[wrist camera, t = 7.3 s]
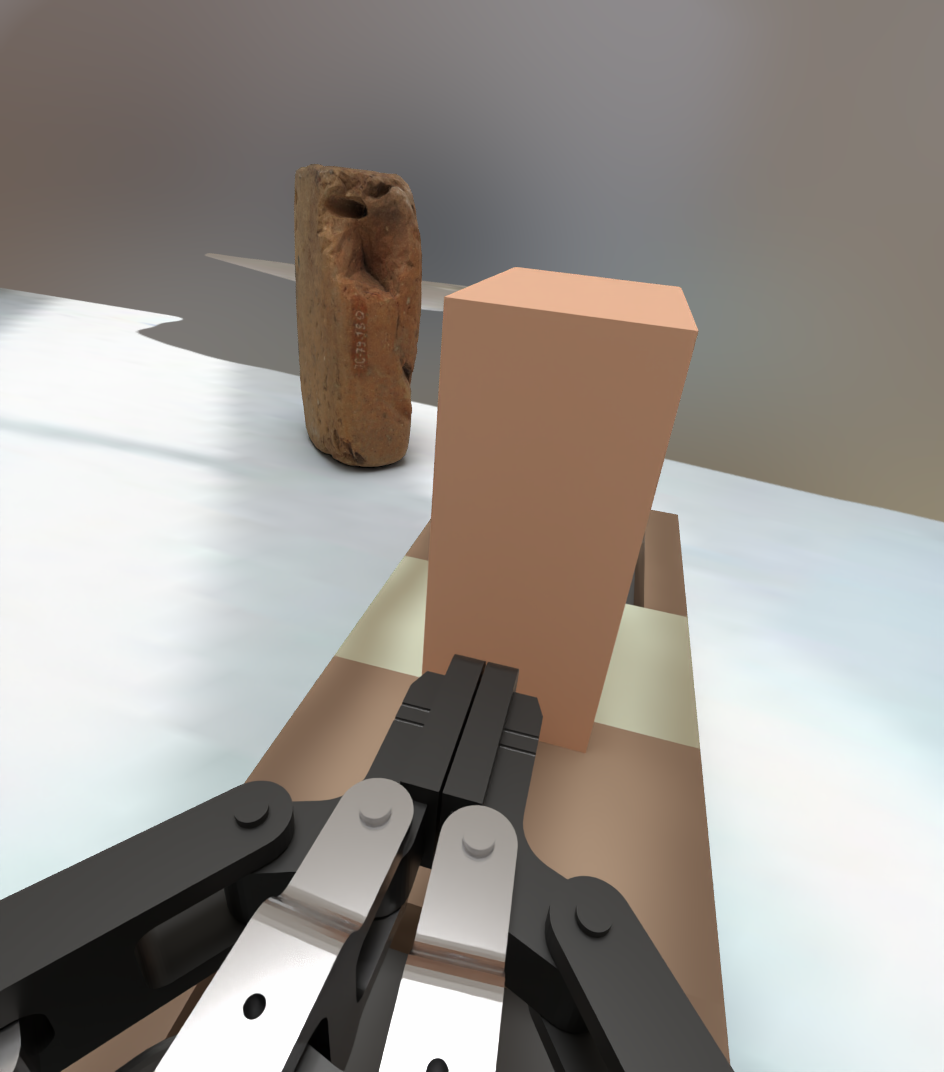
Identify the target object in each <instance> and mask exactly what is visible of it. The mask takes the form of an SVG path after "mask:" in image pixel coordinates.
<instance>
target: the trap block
mask: <svg viewBox="0 0 944 1072" xmlns="http://www.w3.org/2000/svg"><path fill="white" fill-rule="evenodd" d="M697 335H698V329H697V326H696V324H695V321H694V319H693V316H692V314H691V311H690V309H689V307H688V304H687V301H686V299H685V296H684V294H683V291H682V289H681V287H675V286H666V285H658V284H649V283H642V282H634V281H626V280H618V279H609V278H601V277H593V276H585V275H576V274H568V273H560V272H552V271H544V270H536V269H527V268H519V267H514V268H512V269H510V270H507V271H505V272H502V273H500V274H498V275H495V276H493V277H490V278H489V279H486V280H483V281H481V282H479V283H476V284H474V285H472V286H469V287H467V288H464V289H462V290H460V291H457V292H455V293H452V294H450V295H448V296H445V297H444V311H443V328H442V344H441V346H442V347H441V362H440V378H439V395H438V411H437V428H436V445H435V461H434V478H433V495H432V512H431V528H430V545H429V562H428V579H427V595H426V612H425V629H424V645H423V662H422V675H423V674H424V673H425V672H427V671H430V672H434V673H438V674H442V675H445V674H446V672H447V670H448V667H449V665H450V663H451V660H452V658H453V656H454V655H455V654H458V655H462V656H466V657H471V658H475V659H479V660H483V661H486V665H487V663H488V662H492V663H497V664H501V665H505V666H509V667H514V668H518V669H519V675H518V681H517V687H516V693H521V694H525V695H529V696H533V697H537V699H538V702H539V705H540V709H541V712H542V715H543V720H542V725H541V730H540V735H539V741H541V742H545V743H548V744H552V745H556V746H560V747H563V748H567V749H571V750H575V751H578V752H582V753H586V750H587V746H588V742H589V738H590V735H591V731H592V727H593V724H594V720H595V716H596V712H597V709H598V705H599V701H600V697H601V694H602V690H603V686H604V682H605V679H606V675H607V671H608V667H609V664H610V660H611V656H612V652H613V649H614V645H615V641H616V637H617V634H618V630H619V626H620V623H621V619H622V615H623V611H624V608H625V604H626V600H627V596H628V593H629V589H630V585H631V581H632V578H633V574H634V570H635V566H636V563H637V559H638V555H639V551H640V548H641V544H642V540H643V537H644V533H645V529H646V525H647V522H648V518H649V514H650V510H651V507H652V503H653V499H654V495H655V492H656V488H657V484H658V480H659V477H660V473H661V469H662V465H663V462H664V458H665V454H666V450H667V447H668V443H669V439H670V435H671V431H672V428H673V424H674V421H675V416H676V413H677V409H678V406H679V402H680V398H681V394H682V391H683V387H684V383H685V379H686V376H687V372H688V368H689V364H690V361H691V357H692V352H693V350H694V346H695V342H696V338H697Z"/></svg>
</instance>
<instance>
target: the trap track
mask: <svg viewBox="0 0 944 1072" xmlns="http://www.w3.org/2000/svg"><path fill="white" fill-rule="evenodd" d="M430 528H431V519H430V521H429V522H428V524H427V525H426V527H425V528H424V529H423V531H422V532H421V534H420V535H419V536H418V538H417V539H416V541H415V542H414V544H413V545H412V546H411V548H410V549H409V551H408V552H407V553H406V555H405V556H404V558H403V559H402V561H401V562H400V563H399V565H398V566H397V568H396V569H395V570H394V572H393V573H392V575H391V576H390V578H389V579H388V580H387V582H386V583H385V585H384V586H383V587H382V589H381V590H380V592H379V593H378V595H377V596H376V597H375V599H374V600H373V602H372V603H371V604H370V606H369V607H368V609H367V610H366V612H365V613H364V614H363V616H362V617H361V619H360V620H359V621H358V623H357V624H356V626H355V627H354V628H353V630H352V631H351V633H350V634H349V636H348V637H347V638H346V640H345V641H344V643H343V644H342V645H341V647H340V648H339V650H338V651H337V653H336V654H335V655H334V657H333V658H332V660H331V661H330V662H329V664H328V665H327V667H326V668H325V670H324V671H323V672H322V674H321V675H320V677H319V678H318V679H317V681H316V682H315V684H314V685H313V687H312V688H311V689H310V691H309V692H308V694H307V695H306V696H305V698H304V699H303V701H302V702H301V704H300V705H299V706H298V708H297V709H296V711H295V712H294V713H293V715H292V716H291V718H290V719H289V721H288V722H287V723H286V725H285V726H284V728H283V729H282V730H281V732H280V733H279V735H278V736H277V738H276V739H275V740H274V742H273V743H272V745H271V746H270V747H269V749H268V750H267V752H266V753H265V755H264V756H263V757H262V759H261V760H260V762H259V763H258V764H257V766H256V767H255V769H254V770H253V772H252V773H251V774H250V776H249V777H248V779H247V780H246V781H245V783H248V782H252V781H271V782H274V783H277V784H279V785H281V786H282V787H283V788H285V789H286V790H287V792H288V793H289V794H290V797H291V799H292V801H321V800H329V799H334V798H337V797H340V796H343V795H344V794H345V792H346V791H347V790H348V789H349V788H351V787H352V786H354V785H355V784H357V783H359V782H361V781H363V779H364V778H365V777H366V775H367V773H368V771H369V769H370V767H371V765H372V763H373V761H374V759H375V757H376V755H377V753H378V751H379V749H380V747H381V745H382V743H383V741H384V739H385V736H386V734H387V732H388V730H389V728H390V726H391V724H392V722H393V720H395V716H396V714H397V712H398V710H399V708H400V706H401V705H402V702H403V700H404V698H405V696H406V693H407V691H408V689H409V687H410V685H411V684H412V683H413V682H414V681H416V680H417V679H418V678H419V677H421V676H422V662H423V645H424V629H425V612H426V595H427V579H428V562H429V545H430ZM523 829H524V834H525V837H526V840H527V842H528V844H529V846H530V848H531V850H532V851H533V852H534V854H535V855H536V856H537V857H538V858H539V859H540V860H541V861H542V862H543V863H544V864H546V865H547V866H548V867H550V868H551V869H553V870H554V871H556V872H557V873H559V874H560V875H562V876H563V877H565V878H566V879H570V878H573V877H576V876H591V877H595V878H598V879H601V880H603V881H605V882H607V883H609V884H610V885H612V886H613V887H614V888H615V889H617V890H618V891H619V892H620V893H621V894H622V895H623V897H624V898H625V900H626V901H627V902H628V904H629V905H630V907H631V909H632V910H633V912H634V913H635V915H636V916H637V918H638V920H639V921H640V923H641V924H642V926H643V928H644V929H645V931H646V932H647V934H648V936H649V937H650V939H651V940H652V942H653V943H654V945H655V947H656V948H657V950H658V951H659V953H660V955H661V956H662V958H663V959H664V961H665V963H666V964H667V966H668V967H669V969H670V970H671V972H672V974H673V975H674V977H675V978H676V980H677V982H678V983H679V985H680V986H681V988H682V989H683V991H684V993H685V994H686V996H687V997H688V999H689V1001H690V1002H691V1004H692V1005H693V1007H694V1009H695V1010H696V1012H697V1013H698V1015H699V1016H700V1018H701V1020H702V1021H703V1023H704V1024H705V1026H706V1028H707V1029H708V1031H709V1032H710V1034H711V1036H712V1037H713V1039H714V1040H715V1042H716V1043H717V1045H718V1047H719V1048H720V1050H721V1051H722V1053H723V1055H724V1056H725V1058H726V1059H727V1061H728V1062H729V1064H730V1058H729V1048H728V1037H727V1027H726V1016H725V1006H724V995H723V985H722V974H721V964H720V953H719V943H718V932H717V922H716V911H715V901H714V890H713V880H712V869H711V859H710V848H709V838H708V827H707V817H706V806H705V796H704V785H703V775H702V764H701V754H700V743H699V733H698V722H697V712H696V701H695V691H694V680H693V670H692V659H691V649H690V638H689V628H688V617H687V607H686V596H685V586H684V575H683V565H682V554H681V544H680V533H679V523H678V515H676V514H670V513H665V512H660V511H655V510H650V514H649V518H648V522H647V525H646V529H645V533H644V537H643V540H642V544H641V548H640V551H639V555H638V559H637V563H636V566H635V570H634V574H633V578H632V581H631V585H630V589H629V593H628V596H627V600H626V604H625V608H624V611H623V615H622V619H621V623H620V626H619V630H618V634H617V637H616V641H615V645H614V649H613V652H612V656H611V660H610V664H609V667H608V671H607V675H606V679H605V682H604V686H603V690H602V694H601V697H600V701H599V705H598V709H597V712H596V716H595V720H594V724H593V727H592V731H591V735H590V738H589V742H588V746H587V750H586V753H582V752H578V751H575V750H571V749H567V748H563V747H560V746H556V745H552V744H548V743H545V742H541V741H538V746H537V751H536V756H535V761H534V766H533V771H532V776H531V782H530V787H529V792H528V797H527V802H526V807H525V812H524V819H523ZM431 870H432V869H429V868H425V867H422V866H419V869H418V872H417V875H416V878H415V881H414V883H413V886H412V889H411V892H410V894H409V898H408V903H407V906H406V909H405V912H404V914H403V916H402V919H401V921H400V924H399V926H398V928H397V931H396V933H395V936H394V938H393V940H392V943H391V945H390V947H389V950H388V952H387V955H386V957H385V959H384V962H383V964H382V967H381V969H380V971H379V974H378V976H377V978H376V981H375V983H374V986H373V988H372V990H371V993H370V995H369V998H368V1000H367V1002H366V1005H365V1007H364V1010H363V1013H362V1016H361V1019H360V1022H359V1026H358V1031H357V1035H356V1039H355V1042H354V1045H353V1049H352V1052H351V1055H350V1057H349V1060H348V1063H347V1066H346V1068H345V1071H344V1072H379V1071H380V1066H381V1062H382V1058H383V1054H384V1050H385V1046H386V1042H387V1038H388V1034H389V1029H390V1025H391V1021H392V1017H393V1013H394V1009H395V1005H396V1001H397V996H398V992H399V988H400V984H401V980H402V976H403V972H404V968H405V964H406V961H407V958H408V954H409V952H410V950H411V949H412V947H413V944H414V941H415V937H416V933H417V928H418V924H419V920H420V916H421V912H422V907H423V903H424V899H425V895H426V891H427V886H428V882H429V878H430V874H431ZM217 972H218V971H217ZM217 972H215V973H213V974H212V975H210V976H209V977H207V978H206V979H204V980H203V981H201V982H199V983H198V984H196V985H195V986H193V987H192V988H190V989H189V990H187V991H185V992H184V993H182V994H181V995H179V996H178V997H176V998H175V999H173V1000H171V1001H170V1002H168V1003H167V1004H165V1005H164V1006H162V1007H160V1008H159V1009H157V1010H156V1011H154V1012H153V1013H151V1014H150V1015H148V1016H146V1017H145V1018H143V1019H142V1020H140V1021H139V1022H137V1023H136V1024H134V1025H132V1026H131V1027H129V1028H128V1029H126V1030H125V1031H123V1032H122V1033H120V1034H118V1035H117V1036H115V1037H114V1038H112V1039H111V1040H109V1041H107V1042H106V1043H104V1044H103V1045H101V1046H100V1047H98V1048H97V1049H95V1050H93V1051H92V1052H90V1053H89V1054H87V1055H86V1056H84V1057H83V1058H81V1059H79V1060H78V1061H76V1062H75V1063H73V1064H72V1065H70V1066H69V1067H67V1068H65V1069H64V1070H62V1071H61V1072H115V1071H116V1070H117V1069H119V1068H120V1067H122V1066H123V1065H124V1064H126V1063H127V1062H129V1061H130V1060H131V1059H133V1058H134V1057H136V1056H137V1055H139V1054H140V1053H142V1052H143V1051H145V1050H146V1049H148V1048H150V1047H152V1046H153V1045H155V1044H157V1043H159V1042H161V1041H163V1040H165V1039H167V1038H169V1037H172V1036H174V1035H176V1034H178V1033H179V1031H180V1030H181V1028H182V1027H183V1025H184V1024H185V1022H186V1020H187V1019H188V1017H189V1016H190V1014H191V1013H192V1011H193V1009H194V1008H195V1006H196V1005H197V1003H198V1002H199V1000H200V998H201V997H202V995H203V994H204V992H205V990H206V989H207V987H208V986H209V984H210V983H211V981H212V979H213V978H214V976H215V975H216V973H217ZM495 1072H555V1071H554V1069H553V1067H552V1064H551V1062H550V1060H549V1057H548V1055H547V1053H546V1050H545V1048H544V1046H543V1044H542V1041H541V1039H540V1037H539V1034H538V1032H537V1030H536V1027H535V1025H534V1023H533V1020H532V1018H531V1015H530V1012H529V1009H528V1004H527V1003H525V1002H524V1001H523V1000H522V999H520V998H519V997H518V996H517V995H516V994H514V993H513V992H512V991H511V990H509V989H508V988H507V987H506V986H504V995H503V1005H502V1014H501V1023H500V1032H499V1041H498V1051H497V1060H496V1069H495Z"/></svg>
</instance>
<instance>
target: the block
mask: <svg viewBox="0 0 944 1072" xmlns="http://www.w3.org/2000/svg"><path fill="white" fill-rule="evenodd" d="M294 202H295V203H294V211H295V212H294V216H295V217H294V218H295V278H296V309H297V328H298V346H299V362H300V381H301V391H302V399H303V406H304V414H305V423H306V428H307V432H308V434H309V437H310V439H311V440H312V442H313V443H314V445H315V446H316V448H318V449H319V450H321V451H322V452H324V453H326V454H331V455H332V457H333V458H334V459H336V460H338V461H340V462H342V463H344V464H347V465H350V466H363V467H375V466H383V465H388V464H391V463H394V462H396V461H399V460H400V459H401V458H402V457H403V456H405V454H406V451H407V448H408V443H409V436H410V427H411V413H412V405H411V399H410V398H411V388H410V383H411V376H412V372H413V369H414V363H415V359H416V354H417V342H418V336H419V323H420V316H421V279H422V253H421V239H420V233H419V229H418V224H417V219H416V210H415V204H414V200H413V196H412V193H411V190H410V188H409V185H408V184H407V183H406V182H405V181H404V180H403V179H402V178H401V177H400V176H398V175H397V174H386V173H379V172H375V171H367V170H358V169H351V168H344V167H335V166H325V167H324V166H322V165H318V164H311V165H309V166H307V167H301V168H300V169H298V170H297V171H296V174H295V201H294Z"/></svg>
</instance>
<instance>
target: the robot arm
mask: <svg viewBox="0 0 944 1072" xmlns="http://www.w3.org/2000/svg"><path fill="white" fill-rule="evenodd" d="M518 675H519V669H518V668H514V667H509V666H505V665H501V664H497V663H492V662H488V663H487V665H486V661H483V660H479V659H475V658H471V657H466V656H462V655H458V654H455V655H454V656H453V658H452V660H451V663H450V665H449V667H448V670H447V672H446V674H445V675H442V674H438V673H434V672H430V671H427V672H425V673H424V674H423V675H422V676H421V677H419V678H418V679H417V680H416V681H414V682H413V683H412V684H411V685H410V687H409V689H408V691H407V693H406V696H405V698H404V700H403V702H402V705H401V706H400V708H399V710H398V712H397V714H396V716H395V720H393V722H392V724H391V726H390V728H389V730H388V732H387V734H386V736H385V739H384V741H383V743H382V745H381V747H380V749H379V751H378V753H377V755H376V757H375V759H374V761H373V763H372V765H371V767H370V769H369V771H368V773H367V775H366V777H365V778H364V779H363V781H361V782H359V783H357V784H355V785H354V786H352V787H351V788H349V789H348V790H347V791H346V792H345V794H344V795H343V796H340V797H337V798H334V799H329V800H321V801H292V799H291V797H290V794H289V793H288V792H287V790H286V789H285V788H283V787H282V786H281V785H279V784H277V783H274V782H271V781H252V782H248V783H244V784H242V785H240V786H237V787H235V788H233V789H231V790H229V791H227V792H225V793H223V794H221V795H219V796H216V797H214V798H212V799H210V800H208V801H206V802H204V803H202V804H200V805H198V806H196V807H194V808H191V809H189V810H187V811H185V812H183V813H181V814H179V815H177V816H175V817H173V818H171V819H169V820H166V821H164V822H162V823H160V824H158V825H156V826H154V827H152V828H150V829H148V830H146V831H144V832H141V833H139V834H137V835H135V836H133V837H131V838H129V839H127V840H125V841H123V842H121V843H119V844H116V845H114V846H112V847H110V848H108V849H106V850H104V851H102V852H100V853H98V854H96V855H94V856H91V857H89V858H87V859H85V860H83V861H81V862H79V863H77V864H75V865H73V866H71V867H69V868H66V869H64V870H62V871H60V872H58V873H56V874H54V875H52V876H50V877H48V878H46V879H44V880H41V881H39V882H37V883H35V884H33V885H31V886H29V887H27V888H25V889H23V890H21V891H19V892H16V893H14V894H12V895H10V896H8V897H6V898H4V899H2V900H0V1072H61V1071H62V1070H64V1069H65V1068H67V1067H69V1066H70V1065H72V1064H73V1063H75V1062H76V1061H78V1060H79V1059H81V1058H83V1057H84V1056H86V1055H87V1054H89V1053H90V1052H92V1051H93V1050H95V1049H97V1048H98V1047H100V1046H101V1045H103V1044H104V1043H106V1042H107V1041H109V1040H111V1039H112V1038H114V1037H115V1036H117V1035H118V1034H120V1033H122V1032H123V1031H125V1030H126V1029H128V1028H129V1027H131V1026H132V1025H134V1024H136V1023H137V1022H139V1021H140V1020H142V1019H143V1018H145V1017H146V1016H148V1015H150V1014H151V1013H153V1012H154V1011H156V1010H157V1009H159V1008H160V1007H162V1006H164V1005H165V1004H167V1003H168V1002H170V1001H171V1000H173V999H175V998H176V997H178V996H179V995H181V994H182V993H184V992H185V991H187V990H189V989H190V988H192V987H193V986H195V985H196V984H198V983H199V982H201V981H203V980H204V979H206V978H207V977H209V976H210V975H212V974H213V973H215V972H217V971H218V972H217V973H216V975H215V976H214V978H213V979H212V981H211V983H210V984H209V986H208V987H207V989H206V990H205V992H204V994H203V995H202V997H201V998H200V1000H199V1002H198V1003H197V1005H196V1006H195V1008H194V1009H193V1011H192V1013H191V1014H190V1016H189V1017H188V1019H187V1020H186V1022H185V1024H184V1025H183V1027H182V1028H181V1030H180V1031H179V1033H178V1034H176V1035H174V1036H172V1037H169V1038H167V1039H165V1040H163V1041H161V1042H159V1043H157V1044H155V1045H153V1046H152V1047H150V1048H148V1049H146V1050H145V1051H143V1052H142V1053H140V1054H139V1055H137V1056H136V1057H134V1058H133V1059H131V1060H130V1061H129V1062H127V1063H126V1064H124V1065H123V1066H122V1067H120V1068H119V1069H117V1070H116V1071H115V1072H344V1071H345V1068H346V1066H347V1063H348V1060H349V1057H350V1055H351V1052H352V1049H353V1045H354V1042H355V1039H356V1035H357V1031H358V1026H359V1022H360V1019H361V1016H362V1013H363V1010H364V1007H365V1005H366V1002H367V1000H368V998H369V995H370V993H371V990H372V988H373V986H374V983H375V981H376V978H377V976H378V974H379V971H380V969H381V967H382V964H383V962H384V959H385V957H386V955H387V952H388V950H389V947H390V945H391V943H392V940H393V938H394V936H395V933H396V931H397V928H398V926H399V924H400V921H401V919H402V916H403V914H404V912H405V909H406V906H407V903H408V898H409V894H410V892H411V889H412V886H413V883H414V881H415V878H416V875H417V872H418V869H419V866H422V867H425V868H429V869H432V870H431V874H430V878H429V882H428V886H427V891H426V895H425V899H424V903H423V907H422V912H421V916H420V920H419V924H418V928H417V933H416V937H415V941H414V944H413V947H412V949H411V950H410V952H409V954H408V958H407V961H406V964H405V968H404V972H403V976H402V980H401V984H400V988H399V992H398V996H397V1001H396V1005H395V1009H394V1013H393V1017H392V1021H391V1025H390V1029H389V1034H388V1038H387V1042H386V1046H385V1050H384V1054H383V1058H382V1062H381V1066H380V1071H379V1072H495V1069H496V1060H497V1051H498V1041H499V1032H500V1023H501V1014H502V1005H503V995H504V986H506V987H507V988H508V989H509V990H511V991H512V992H513V993H514V994H516V995H517V996H518V997H519V998H520V999H522V1000H523V1001H524V1002H525V1003H527V1004H528V1009H529V1012H530V1015H531V1018H532V1020H533V1023H534V1025H535V1027H536V1030H537V1032H538V1034H539V1037H540V1039H541V1041H542V1044H543V1046H544V1048H545V1050H546V1053H547V1055H548V1057H549V1060H550V1062H551V1064H552V1067H553V1069H554V1071H555V1072H734V1070H733V1069H732V1067H731V1066H730V1064H729V1062H728V1061H727V1059H726V1058H725V1056H724V1055H723V1053H722V1051H721V1050H720V1048H719V1047H718V1045H717V1043H716V1042H715V1040H714V1039H713V1037H712V1036H711V1034H710V1032H709V1031H708V1029H707V1028H706V1026H705V1024H704V1023H703V1021H702V1020H701V1018H700V1016H699V1015H698V1013H697V1012H696V1010H695V1009H694V1007H693V1005H692V1004H691V1002H690V1001H689V999H688V997H687V996H686V994H685V993H684V991H683V989H682V988H681V986H680V985H679V983H678V982H677V980H676V978H675V977H674V975H673V974H672V972H671V970H670V969H669V967H668V966H667V964H666V963H665V961H664V959H663V958H662V956H661V955H660V953H659V951H658V950H657V948H656V947H655V945H654V943H653V942H652V940H651V939H650V937H649V936H648V934H647V932H646V931H645V929H644V928H643V926H642V924H641V923H640V921H639V920H638V918H637V916H636V915H635V913H634V912H633V910H632V909H631V907H630V905H629V904H628V902H627V901H626V900H625V898H624V897H623V895H622V894H621V893H620V892H619V891H618V890H617V889H615V888H614V887H613V886H612V885H610V884H609V883H607V882H605V881H603V880H601V879H598V878H595V877H591V876H576V877H573V878H570V879H566V878H565V877H563V876H562V875H560V874H559V873H557V872H556V871H554V870H553V869H551V868H550V867H548V866H547V865H546V864H544V863H543V862H542V861H541V860H540V859H539V858H538V857H537V856H536V855H535V854H534V852H533V851H532V850H531V848H530V846H529V844H528V842H527V840H526V837H525V834H524V829H523V819H524V812H525V807H526V802H527V797H528V792H529V787H530V782H531V776H532V771H533V766H534V761H535V756H536V751H537V746H538V741H539V735H540V730H541V725H542V720H543V715H542V712H541V709H540V705H539V702H538V699H537V697H533V696H529V695H525V694H521V693H516V687H517V681H518Z"/></svg>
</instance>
